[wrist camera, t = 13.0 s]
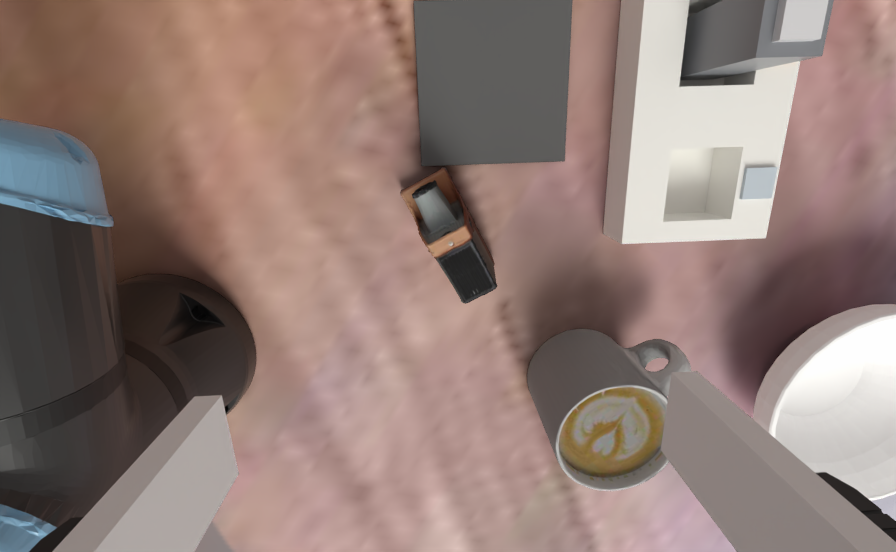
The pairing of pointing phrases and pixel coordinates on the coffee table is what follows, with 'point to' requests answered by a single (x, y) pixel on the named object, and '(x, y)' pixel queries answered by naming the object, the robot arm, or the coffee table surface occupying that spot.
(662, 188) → the socket block
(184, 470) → the robot arm
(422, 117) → the mat
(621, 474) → the coffee mug
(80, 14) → the coffee table surface
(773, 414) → the bowl
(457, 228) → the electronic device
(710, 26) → the plug
